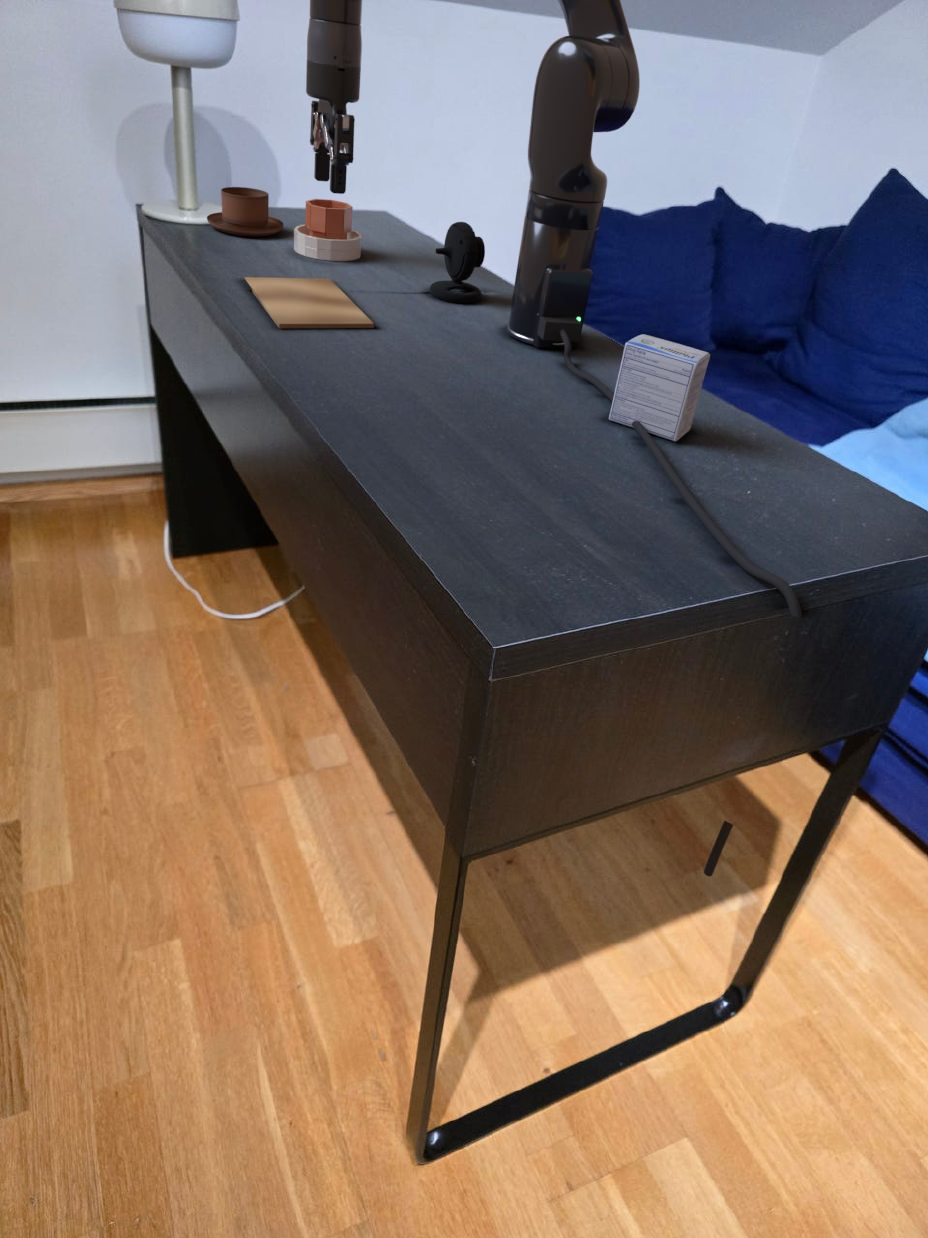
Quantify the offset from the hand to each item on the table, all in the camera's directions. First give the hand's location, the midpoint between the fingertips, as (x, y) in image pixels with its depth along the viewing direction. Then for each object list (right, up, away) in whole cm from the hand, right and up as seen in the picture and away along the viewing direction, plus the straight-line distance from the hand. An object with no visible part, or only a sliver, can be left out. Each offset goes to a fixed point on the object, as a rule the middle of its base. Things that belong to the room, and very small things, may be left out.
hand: (329, 186), depth 132 cm
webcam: (+19, -18, -5) cm, 27 cm away
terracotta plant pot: (-1, -8, +5) cm, 9 cm away
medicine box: (+40, -44, -38) cm, 71 cm away
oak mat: (0, -24, -17) cm, 29 cm away
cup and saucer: (-15, -2, +11) cm, 19 cm away
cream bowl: (-1, -8, +6) cm, 10 cm away
